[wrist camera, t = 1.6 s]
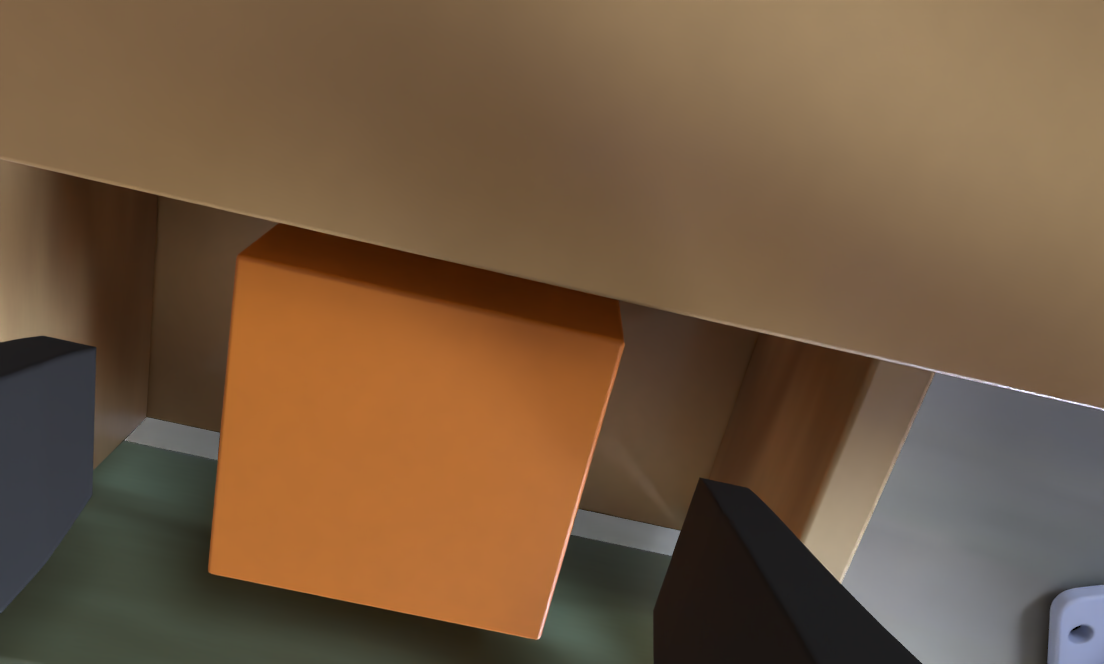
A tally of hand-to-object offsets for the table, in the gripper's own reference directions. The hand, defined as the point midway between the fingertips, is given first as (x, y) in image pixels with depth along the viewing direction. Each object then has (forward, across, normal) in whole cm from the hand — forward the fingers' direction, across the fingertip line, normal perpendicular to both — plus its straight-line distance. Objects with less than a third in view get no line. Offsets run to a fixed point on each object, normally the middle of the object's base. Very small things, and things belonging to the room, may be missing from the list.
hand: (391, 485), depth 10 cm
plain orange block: (+5, 0, 0) cm, 5 cm away
